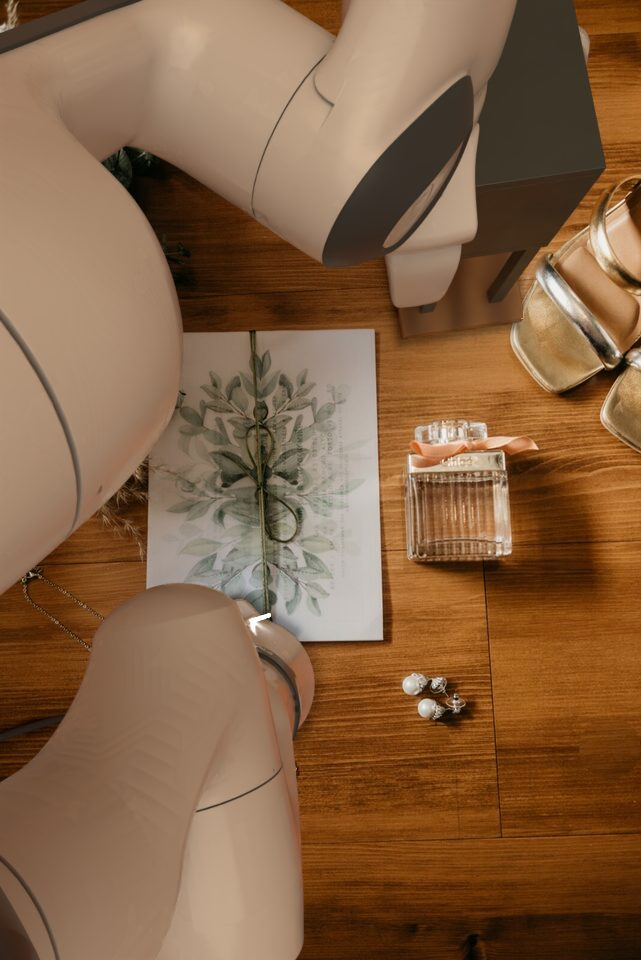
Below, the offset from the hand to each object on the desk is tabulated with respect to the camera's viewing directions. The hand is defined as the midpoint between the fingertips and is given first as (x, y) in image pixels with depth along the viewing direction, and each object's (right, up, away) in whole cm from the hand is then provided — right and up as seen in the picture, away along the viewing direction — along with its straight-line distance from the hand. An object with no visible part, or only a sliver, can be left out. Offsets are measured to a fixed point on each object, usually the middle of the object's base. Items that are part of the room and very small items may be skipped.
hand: (390, 210), depth 60 cm
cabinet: (+9, +5, +23) cm, 25 cm away
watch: (+19, +23, +26) cm, 40 cm away
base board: (+9, +5, +24) cm, 26 cm away
